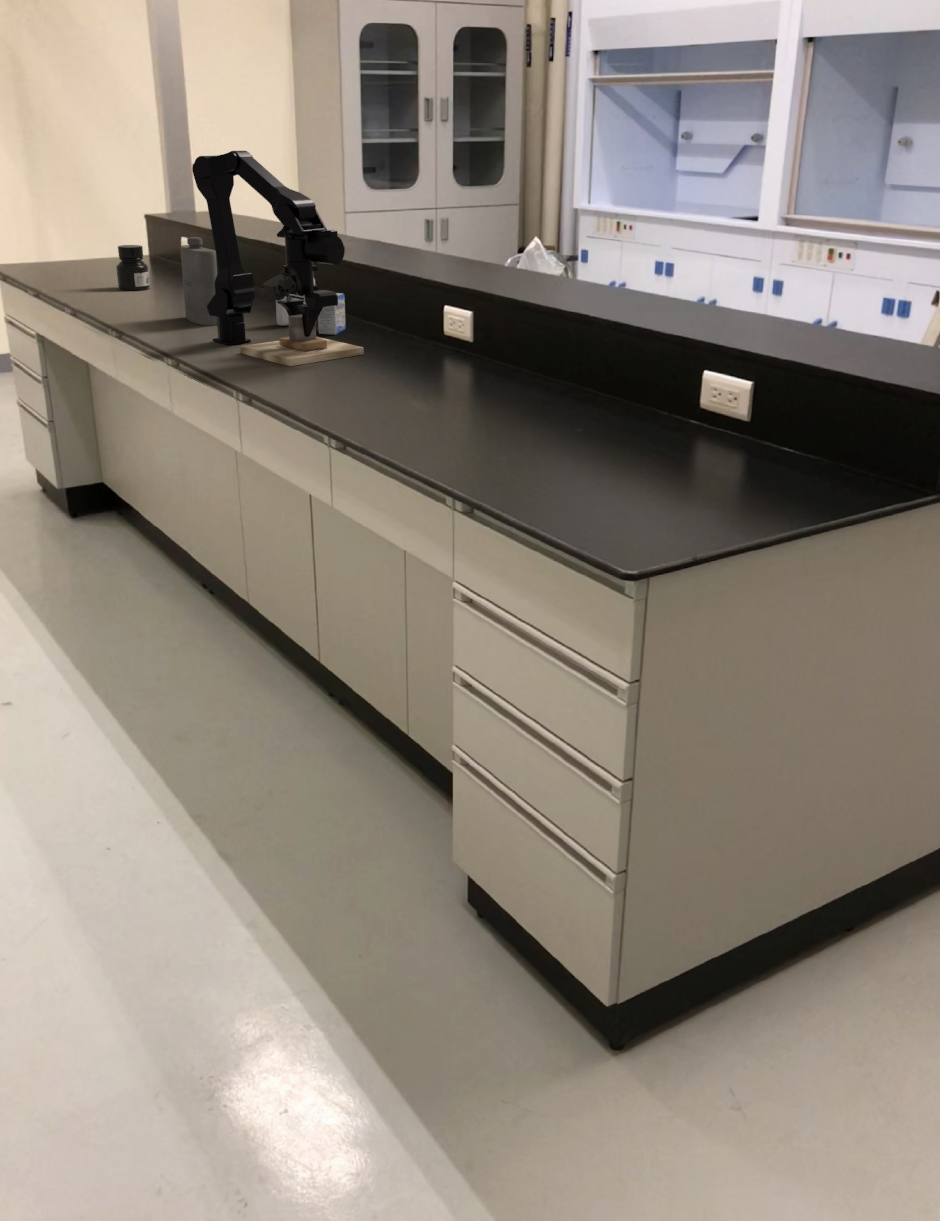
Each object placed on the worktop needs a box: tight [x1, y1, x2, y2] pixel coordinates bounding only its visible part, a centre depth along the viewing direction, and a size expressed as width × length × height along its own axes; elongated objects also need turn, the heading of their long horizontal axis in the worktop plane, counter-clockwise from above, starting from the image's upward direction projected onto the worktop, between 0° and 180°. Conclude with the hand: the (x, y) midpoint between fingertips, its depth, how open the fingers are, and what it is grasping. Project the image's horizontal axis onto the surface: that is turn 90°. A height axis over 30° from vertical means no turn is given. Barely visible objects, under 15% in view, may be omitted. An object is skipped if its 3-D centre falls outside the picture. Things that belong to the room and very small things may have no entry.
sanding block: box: [278, 314, 327, 351], centre depth 241 cm, size 9×6×6 cm, turn 45°
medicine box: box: [317, 292, 346, 336], centre depth 267 cm, size 8×4×9 cm, turn 168°
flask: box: [179, 236, 218, 327], centre depth 275 cm, size 15×6×20 cm, turn 32°
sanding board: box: [239, 336, 365, 367], centre depth 243 cm, size 18×20×2 cm
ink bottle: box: [115, 244, 151, 291], centre depth 324 cm, size 10×9×12 cm
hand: (302, 335), depth 242 cm, fingers closed on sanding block, 3 cm apart
